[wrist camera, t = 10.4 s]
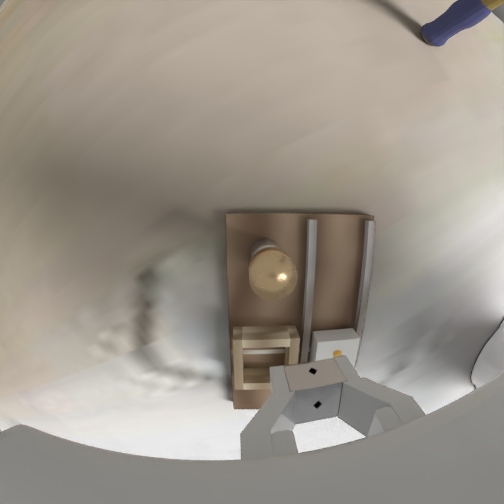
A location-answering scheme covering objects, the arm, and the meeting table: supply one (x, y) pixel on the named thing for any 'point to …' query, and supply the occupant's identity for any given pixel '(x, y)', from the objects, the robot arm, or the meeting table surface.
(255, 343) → the socket
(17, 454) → the robot arm
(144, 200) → the meeting table surface
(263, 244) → the grey and tan cylinder
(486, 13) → the rubber mallet
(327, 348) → the block
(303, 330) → the board
